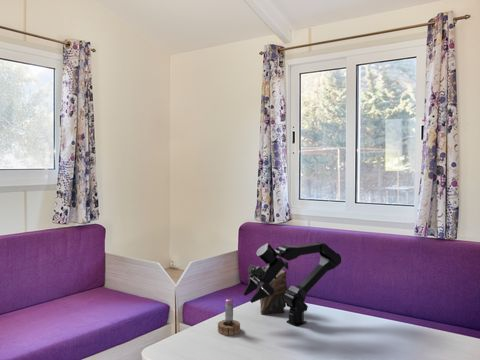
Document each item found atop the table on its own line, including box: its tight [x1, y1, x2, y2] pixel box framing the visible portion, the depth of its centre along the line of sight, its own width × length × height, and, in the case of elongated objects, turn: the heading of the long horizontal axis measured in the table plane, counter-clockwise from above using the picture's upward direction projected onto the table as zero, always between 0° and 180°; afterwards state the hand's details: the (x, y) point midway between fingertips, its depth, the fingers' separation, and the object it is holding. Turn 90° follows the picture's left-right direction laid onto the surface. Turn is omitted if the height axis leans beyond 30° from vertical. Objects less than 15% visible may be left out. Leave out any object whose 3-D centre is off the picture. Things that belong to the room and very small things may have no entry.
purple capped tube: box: [224, 298, 234, 326], centre depth 175 cm, size 3×3×13 cm
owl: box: [259, 265, 288, 316], centre depth 200 cm, size 13×13×20 cm
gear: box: [217, 319, 241, 336], centre depth 175 cm, size 9×9×3 cm
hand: (247, 298), depth 176 cm, fingers open, 9 cm apart
